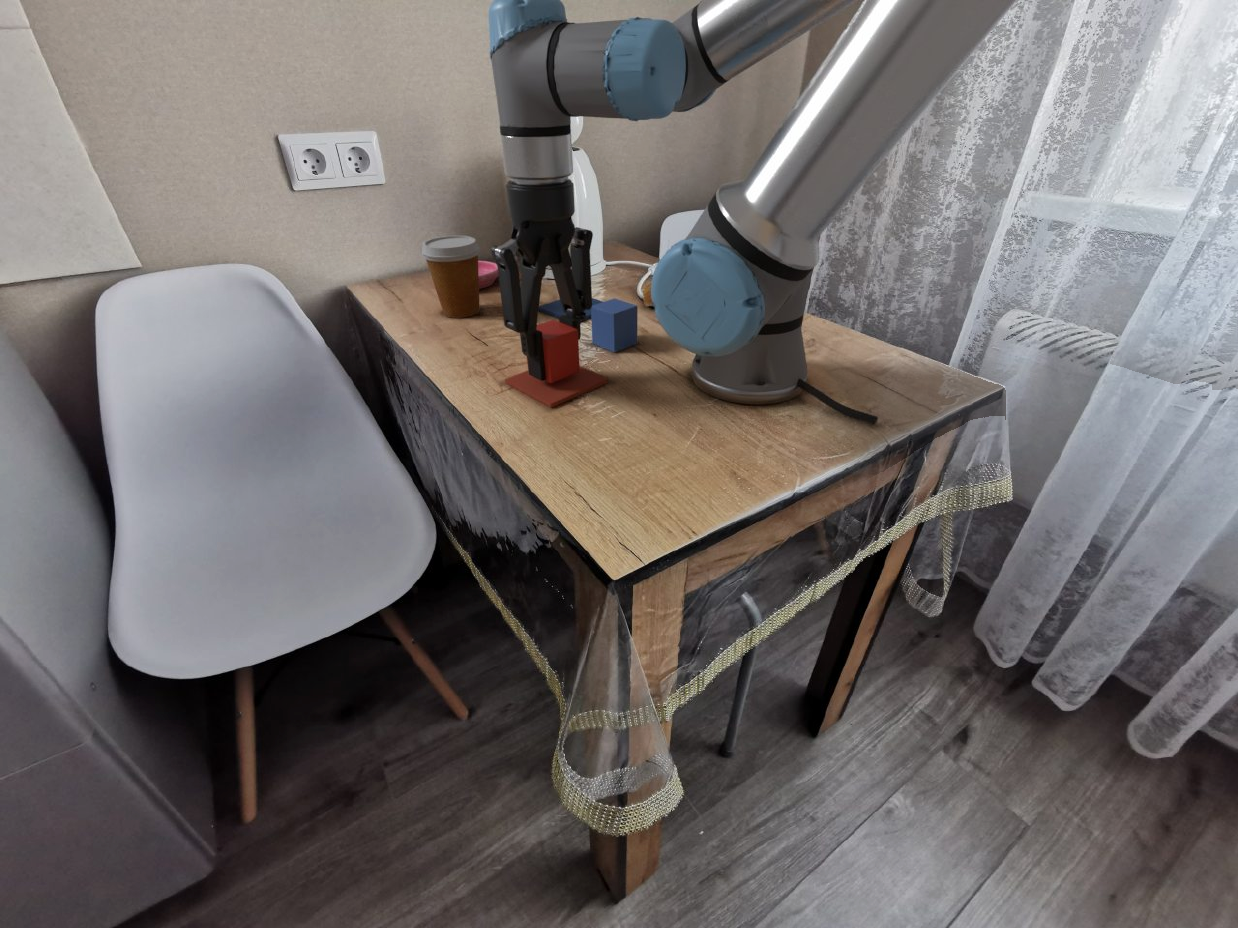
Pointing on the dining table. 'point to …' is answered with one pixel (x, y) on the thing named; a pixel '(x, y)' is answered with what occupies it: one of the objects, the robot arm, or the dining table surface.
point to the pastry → (647, 295)
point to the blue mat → (557, 309)
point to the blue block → (614, 324)
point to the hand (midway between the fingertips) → (554, 369)
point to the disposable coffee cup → (454, 273)
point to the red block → (559, 350)
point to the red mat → (556, 386)
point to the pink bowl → (487, 273)
